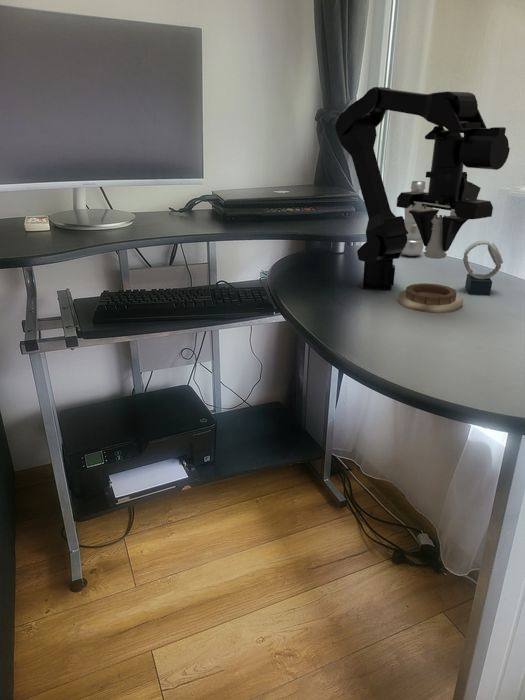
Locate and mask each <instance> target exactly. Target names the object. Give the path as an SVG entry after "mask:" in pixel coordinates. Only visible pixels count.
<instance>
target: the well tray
mask: <svg viewBox="0 0 525 700" xmlns="http://www.w3.org/2000/svg"><path fill="white" fill-rule="evenodd" d="M397 302H398V303H399V304H400V305H401V306H402V307H405V308H407V309H410V310H414V311H417V312H418V311H419V312H425V313H440V314H441V313H451V312H456V311H458V310H460V309H462V307H463V304H464V299H463V297H461V296H460V295H458V294H457V291H456V289H455V288H452V287H450V286H447V285H444V284H443V285H442V284H436V283H423V282H422V283H413V284H410V285H408V286H406V289H405V290H403V291H400V292H399V293H398V294H397Z"/></svg>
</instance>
